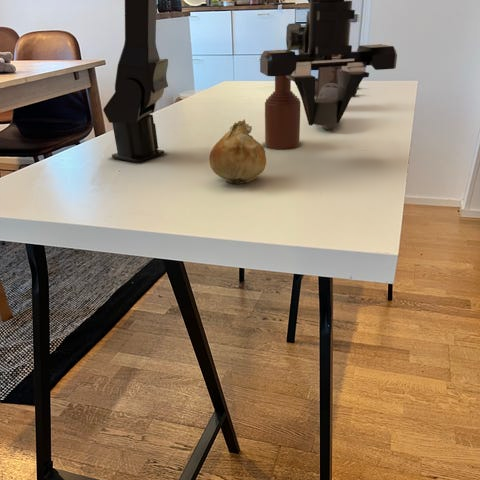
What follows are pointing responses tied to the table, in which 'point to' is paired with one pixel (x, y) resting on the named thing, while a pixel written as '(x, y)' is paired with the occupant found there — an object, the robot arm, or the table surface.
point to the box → (327, 76)
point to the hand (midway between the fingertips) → (323, 123)
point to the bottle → (282, 116)
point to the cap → (325, 111)
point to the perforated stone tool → (328, 92)
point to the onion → (238, 155)
